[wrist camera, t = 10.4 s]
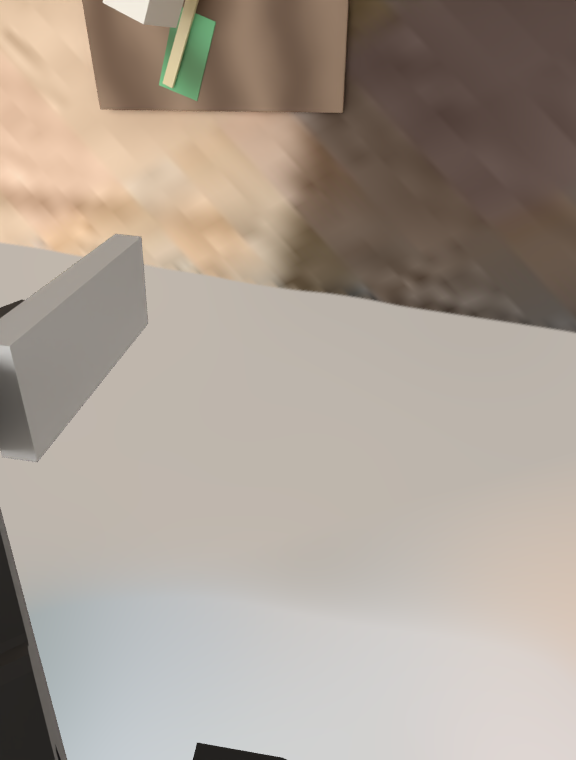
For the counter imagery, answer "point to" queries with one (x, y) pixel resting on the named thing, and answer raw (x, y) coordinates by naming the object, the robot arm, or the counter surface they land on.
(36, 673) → the robot arm
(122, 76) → the wooden cutting board
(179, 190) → the counter surface
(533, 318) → the counter surface
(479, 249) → the counter surface
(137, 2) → the white stand
